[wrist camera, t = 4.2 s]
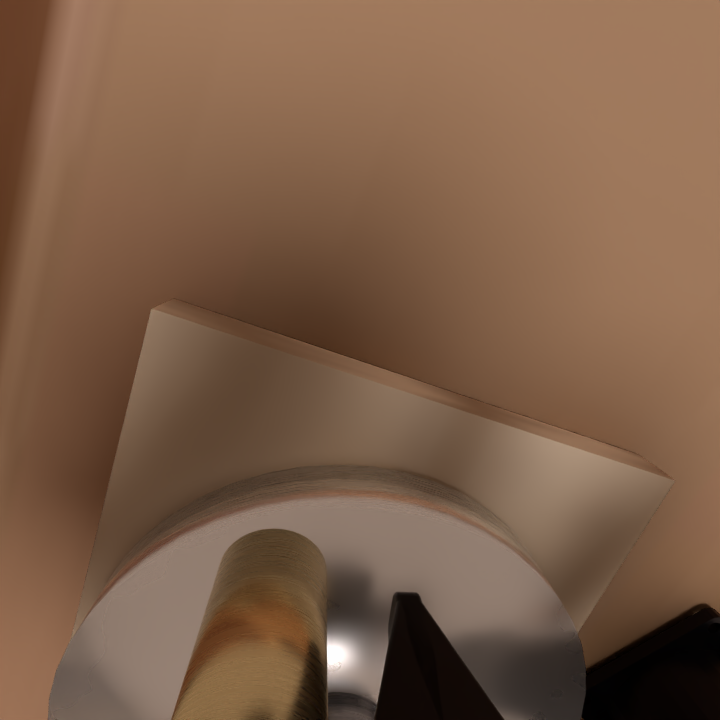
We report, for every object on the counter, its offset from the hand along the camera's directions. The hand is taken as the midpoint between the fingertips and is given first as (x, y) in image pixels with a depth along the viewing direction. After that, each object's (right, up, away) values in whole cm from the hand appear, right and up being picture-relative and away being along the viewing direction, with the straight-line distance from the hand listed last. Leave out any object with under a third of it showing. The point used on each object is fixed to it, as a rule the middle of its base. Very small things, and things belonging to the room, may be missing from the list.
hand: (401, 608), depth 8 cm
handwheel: (-2, -5, +5) cm, 7 cm away
